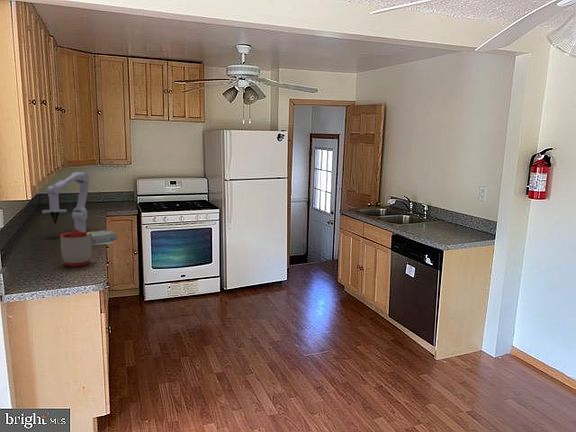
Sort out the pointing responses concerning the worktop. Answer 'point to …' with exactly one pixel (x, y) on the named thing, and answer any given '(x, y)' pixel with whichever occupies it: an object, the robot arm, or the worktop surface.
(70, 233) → the citrus juicer
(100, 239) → the snack box
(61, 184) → the robot arm
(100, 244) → the mat
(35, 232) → the worktop surface
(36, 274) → the worktop surface
